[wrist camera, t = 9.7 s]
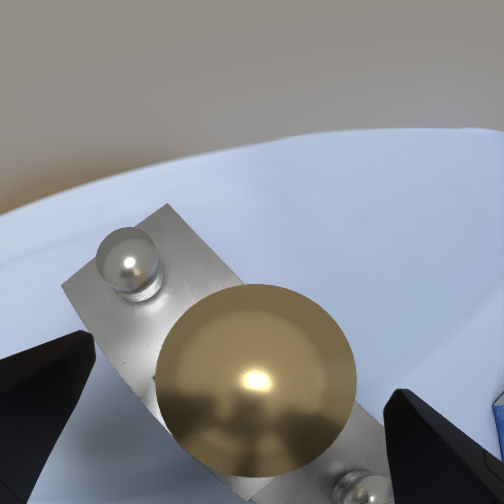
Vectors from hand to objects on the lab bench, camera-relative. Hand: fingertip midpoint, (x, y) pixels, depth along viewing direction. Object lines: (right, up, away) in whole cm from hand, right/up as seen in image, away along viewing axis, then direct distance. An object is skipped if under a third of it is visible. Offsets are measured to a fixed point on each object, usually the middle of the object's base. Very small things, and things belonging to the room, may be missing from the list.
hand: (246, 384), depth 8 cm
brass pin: (-1, -4, +8) cm, 9 cm away
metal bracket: (0, -5, +8) cm, 9 cm away
